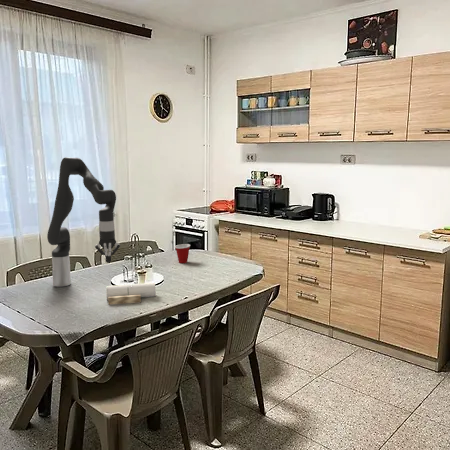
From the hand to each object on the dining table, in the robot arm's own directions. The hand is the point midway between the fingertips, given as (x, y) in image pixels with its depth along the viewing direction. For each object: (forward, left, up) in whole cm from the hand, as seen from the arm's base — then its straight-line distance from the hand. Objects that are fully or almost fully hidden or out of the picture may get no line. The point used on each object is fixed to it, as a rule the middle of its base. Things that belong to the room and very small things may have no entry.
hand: (108, 262), depth 227 cm
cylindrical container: (-2, +1, -17) cm, 17 cm away
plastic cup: (+46, +66, -20) cm, 83 cm away
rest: (+7, 0, -20) cm, 21 cm away
